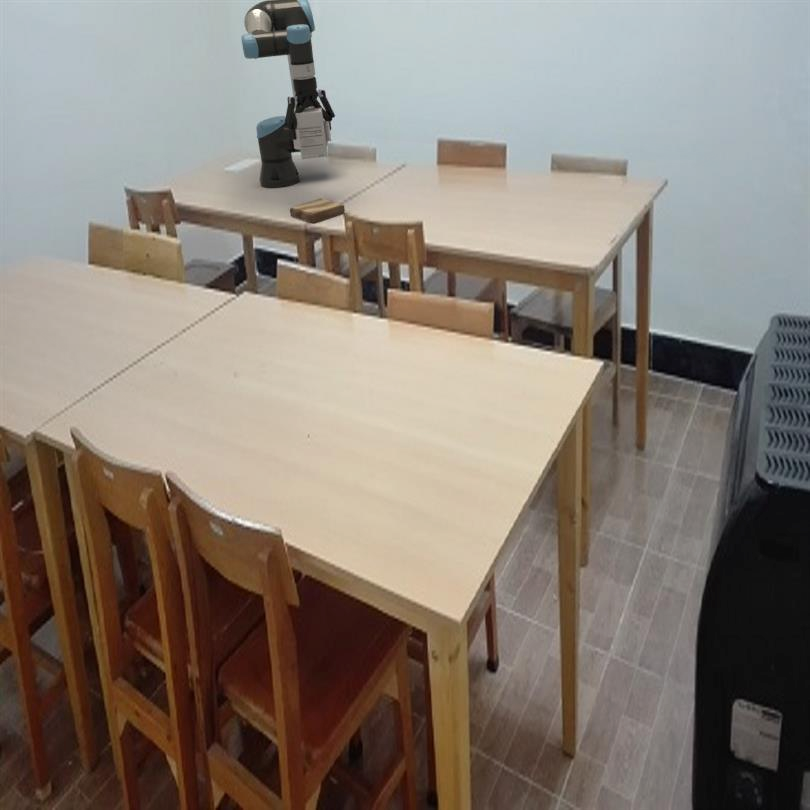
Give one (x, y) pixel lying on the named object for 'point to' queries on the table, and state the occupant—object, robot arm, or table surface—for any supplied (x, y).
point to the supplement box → (311, 133)
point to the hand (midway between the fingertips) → (313, 144)
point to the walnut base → (317, 210)
